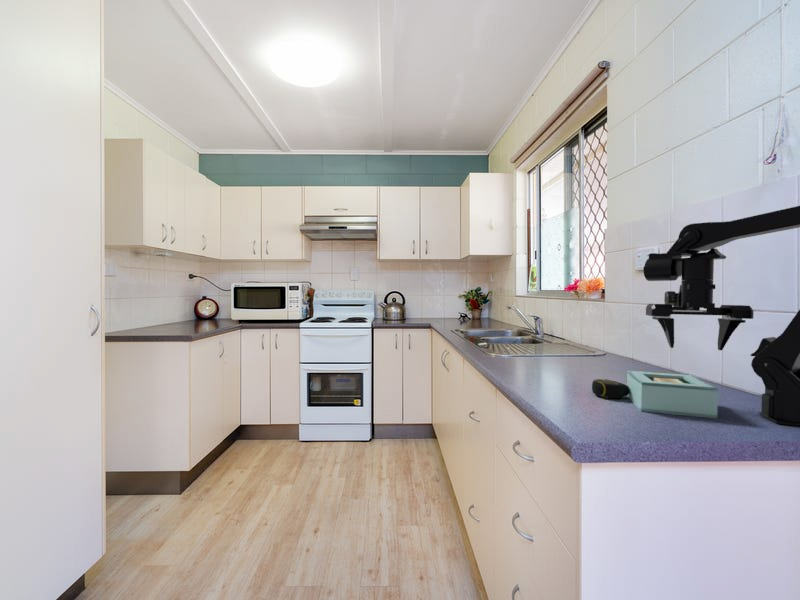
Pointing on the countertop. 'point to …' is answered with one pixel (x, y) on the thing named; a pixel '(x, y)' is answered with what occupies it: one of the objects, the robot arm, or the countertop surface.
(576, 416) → the countertop surface
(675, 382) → the pine block
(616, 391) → the tape measure
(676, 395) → the teal box
